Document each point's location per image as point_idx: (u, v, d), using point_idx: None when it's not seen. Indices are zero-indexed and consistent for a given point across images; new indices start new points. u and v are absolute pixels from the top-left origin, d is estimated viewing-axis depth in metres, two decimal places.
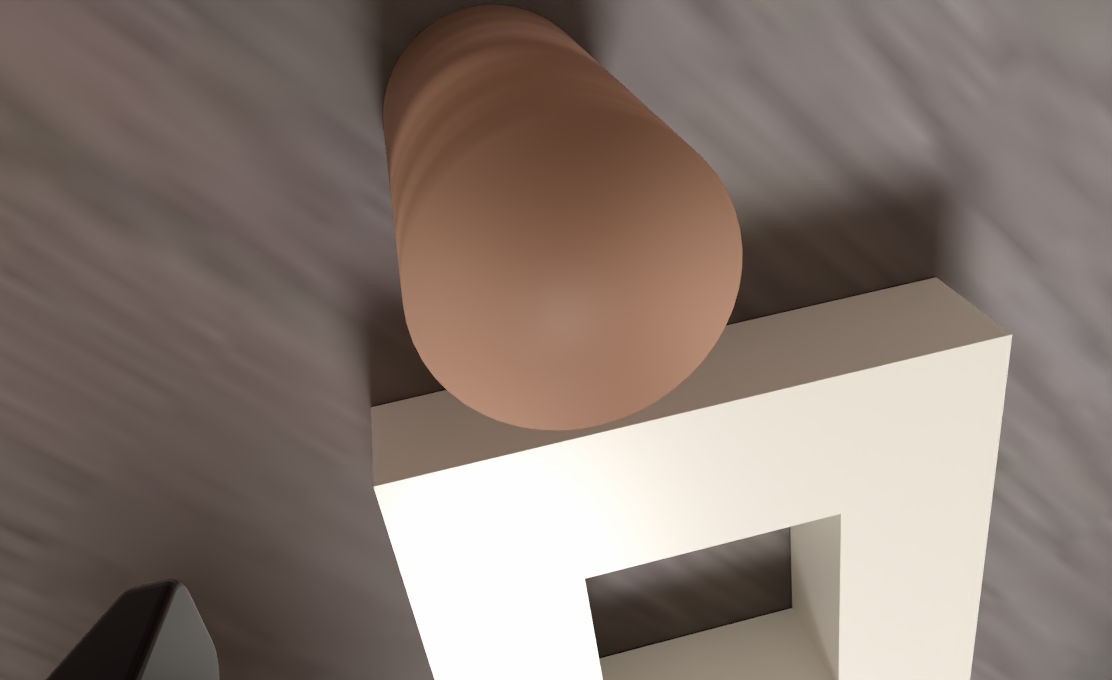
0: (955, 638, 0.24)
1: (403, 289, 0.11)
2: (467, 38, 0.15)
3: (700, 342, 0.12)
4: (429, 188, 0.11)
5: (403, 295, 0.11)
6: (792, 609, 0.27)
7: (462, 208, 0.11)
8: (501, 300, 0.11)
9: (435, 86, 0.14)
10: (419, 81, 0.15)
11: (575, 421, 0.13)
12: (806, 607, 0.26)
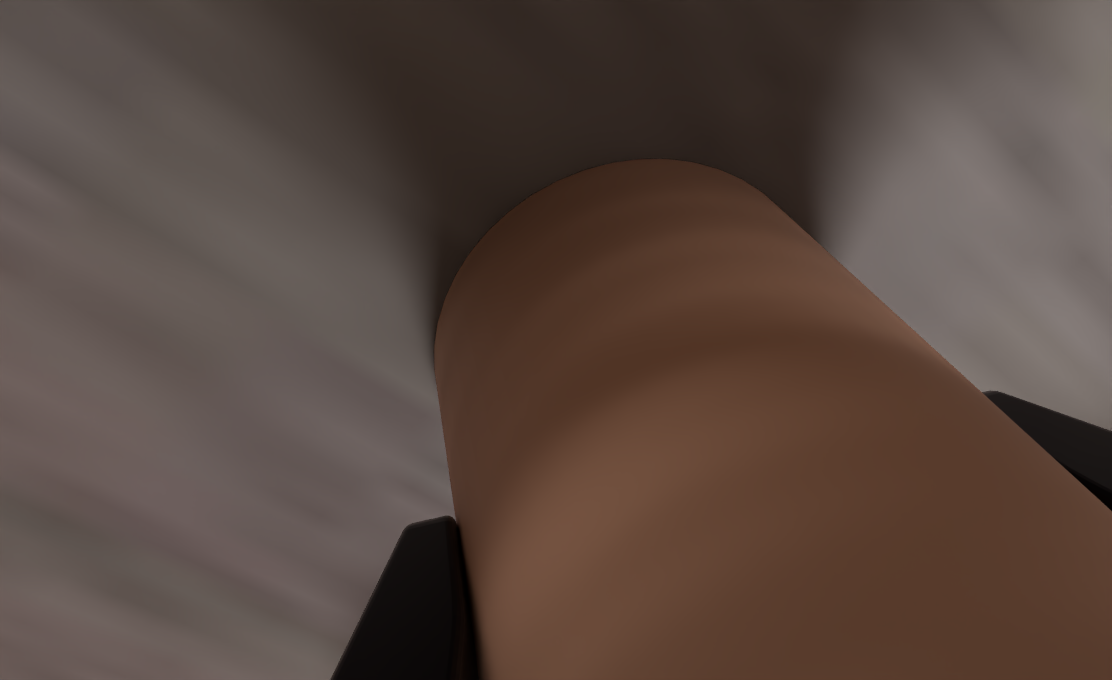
0: None
1: None
2: (645, 290, 0.07)
3: None
4: None
5: None
6: None
7: None
8: None
9: (605, 474, 0.05)
10: (542, 398, 0.07)
11: None
12: None
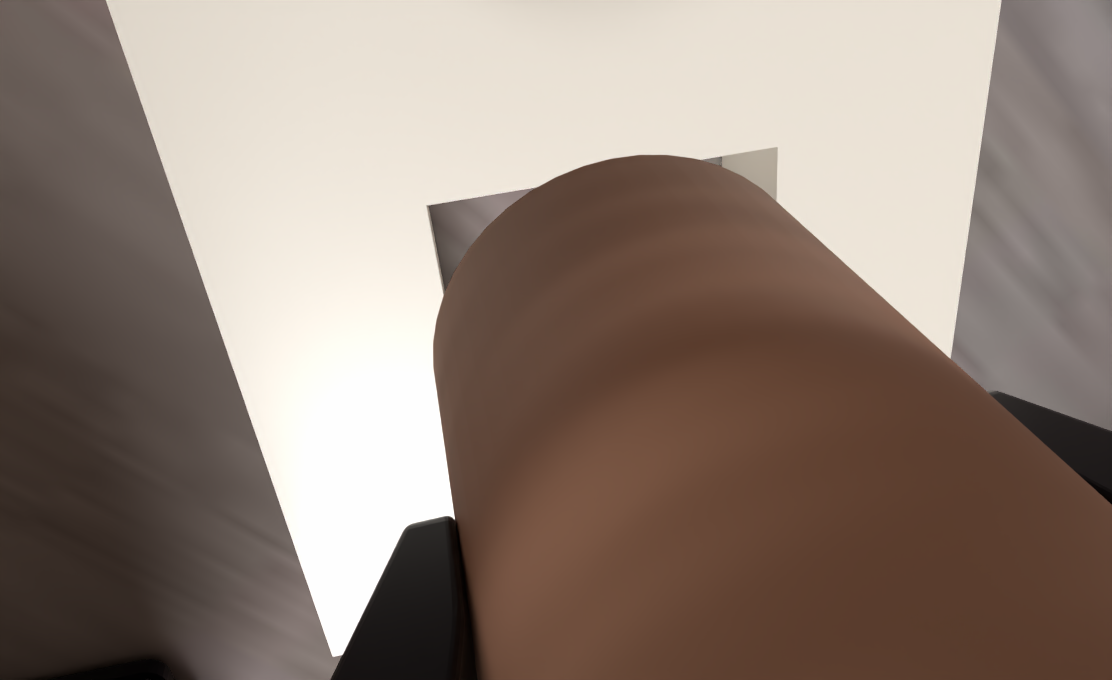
0: None
1: None
2: (644, 285, 0.07)
3: None
4: None
5: None
6: None
7: None
8: None
9: (604, 468, 0.05)
10: (541, 394, 0.06)
11: None
12: None
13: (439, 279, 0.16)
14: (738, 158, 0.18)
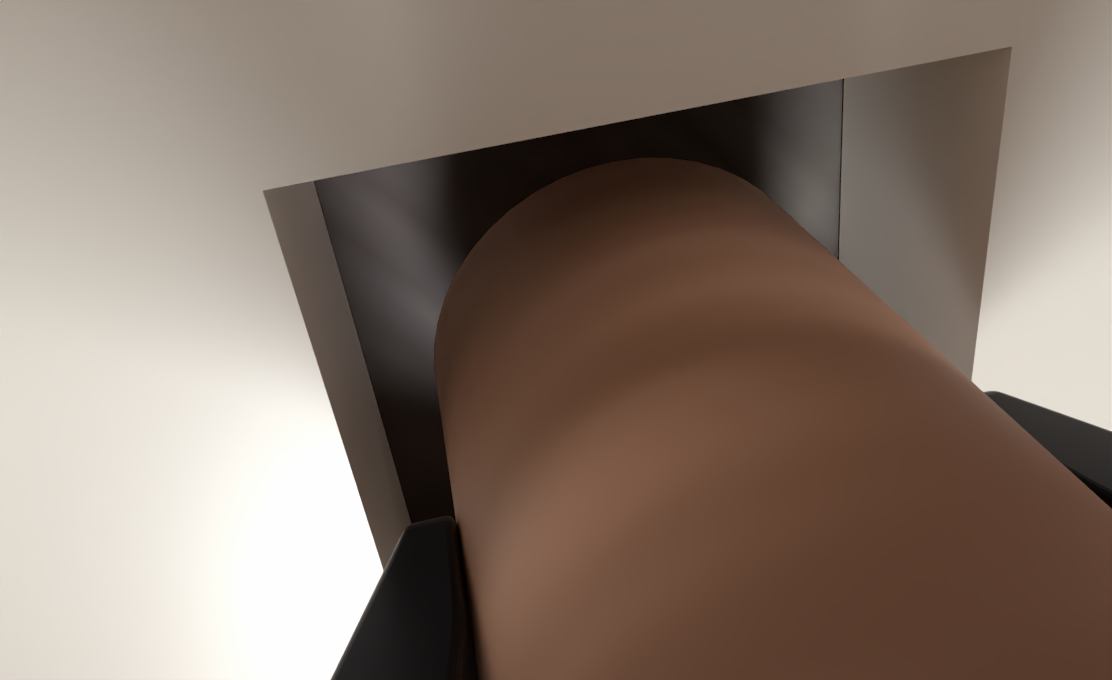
0: None
1: None
2: (645, 289, 0.07)
3: None
4: None
5: None
6: None
7: None
8: None
9: (606, 473, 0.05)
10: (543, 398, 0.07)
11: None
12: None
13: (309, 345, 0.08)
14: (887, 92, 0.10)
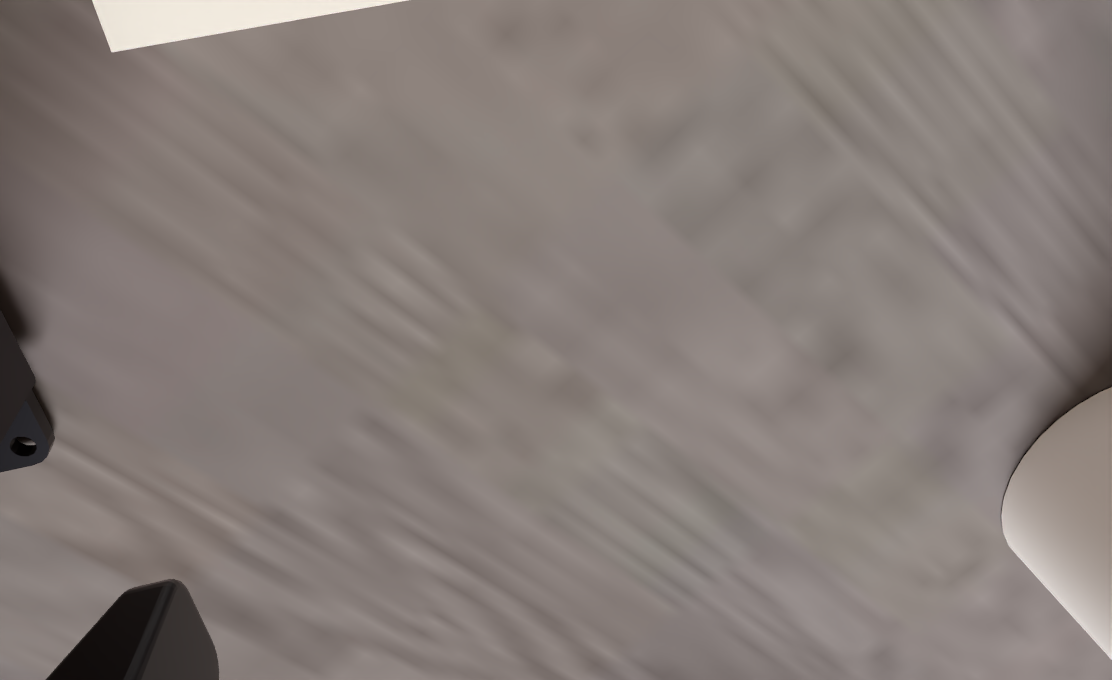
0: None
1: None
2: None
3: None
4: None
5: None
6: None
7: None
8: None
9: None
10: None
11: None
12: None
13: None
14: None
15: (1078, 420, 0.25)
